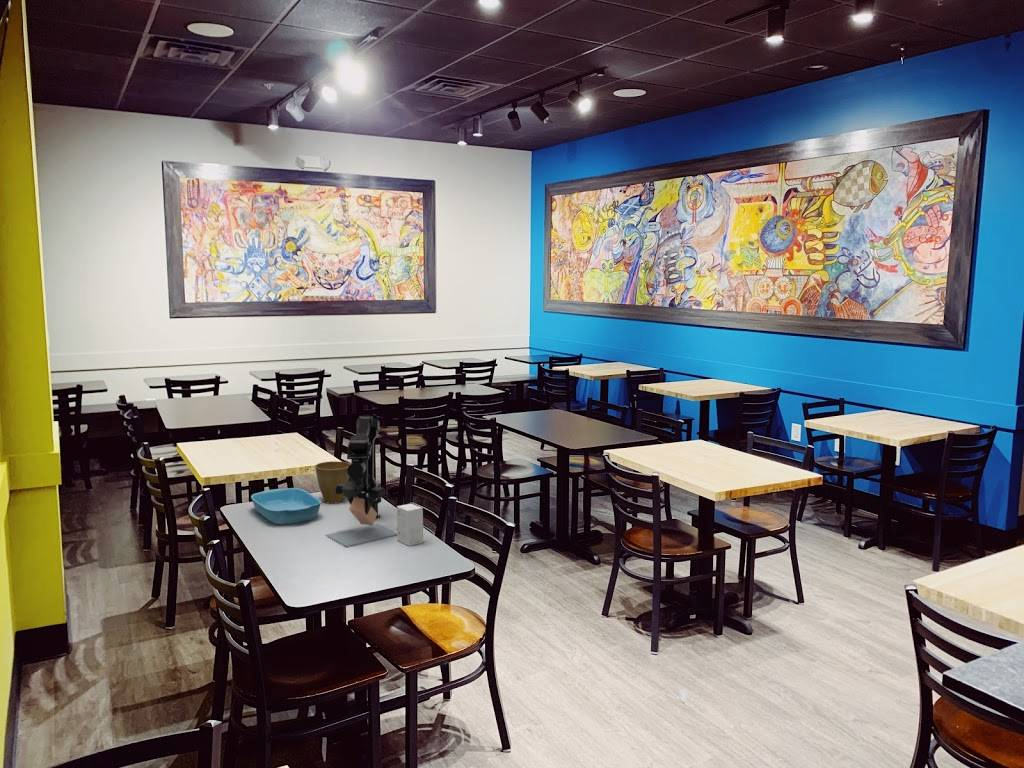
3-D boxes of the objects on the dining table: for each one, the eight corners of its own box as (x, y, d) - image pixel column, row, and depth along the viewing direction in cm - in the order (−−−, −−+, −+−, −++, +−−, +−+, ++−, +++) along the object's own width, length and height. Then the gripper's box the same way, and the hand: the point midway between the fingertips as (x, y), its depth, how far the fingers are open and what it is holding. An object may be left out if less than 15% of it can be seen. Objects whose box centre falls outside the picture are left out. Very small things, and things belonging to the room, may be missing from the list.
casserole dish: (245, 508, 325) (244, 491, 324) (297, 500, 337) (297, 484, 336) (272, 531, 294) (272, 513, 294) (329, 521, 307) (328, 504, 306)
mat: (377, 524, 302) (377, 523, 302) (399, 535, 290) (399, 533, 290) (325, 536, 288) (325, 534, 288) (346, 547, 276) (346, 545, 276)
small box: (423, 542, 282) (423, 507, 280) (408, 546, 278) (408, 510, 276) (411, 537, 288) (411, 502, 286) (396, 540, 284) (396, 505, 282)
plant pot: (311, 505, 328) (310, 468, 326) (321, 496, 343) (320, 460, 341) (346, 506, 327) (345, 469, 326) (355, 496, 342) (354, 461, 340)
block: (366, 512, 297) (354, 497, 289) (377, 513, 295) (365, 499, 287) (361, 523, 294) (348, 509, 286) (372, 525, 292) (360, 510, 284)
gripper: (325, 474, 283) (326, 516, 285) (369, 479, 276) (370, 522, 278) (343, 467, 293) (344, 508, 295) (386, 472, 286) (386, 513, 288)
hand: (360, 513), depth 289 cm, fingers closed on block, 5 cm apart
